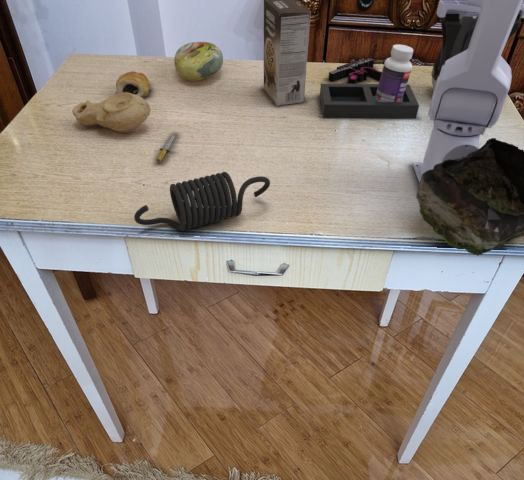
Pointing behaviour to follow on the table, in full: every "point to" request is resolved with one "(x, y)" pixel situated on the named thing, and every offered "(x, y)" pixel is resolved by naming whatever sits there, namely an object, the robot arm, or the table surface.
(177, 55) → the cell model
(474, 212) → the rock
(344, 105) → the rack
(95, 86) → the table surface
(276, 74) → the coffee box
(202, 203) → the coil
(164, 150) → the dagger
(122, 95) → the oil lamp
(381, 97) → the pill bottle
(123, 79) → the pastry
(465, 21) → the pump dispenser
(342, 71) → the logo
